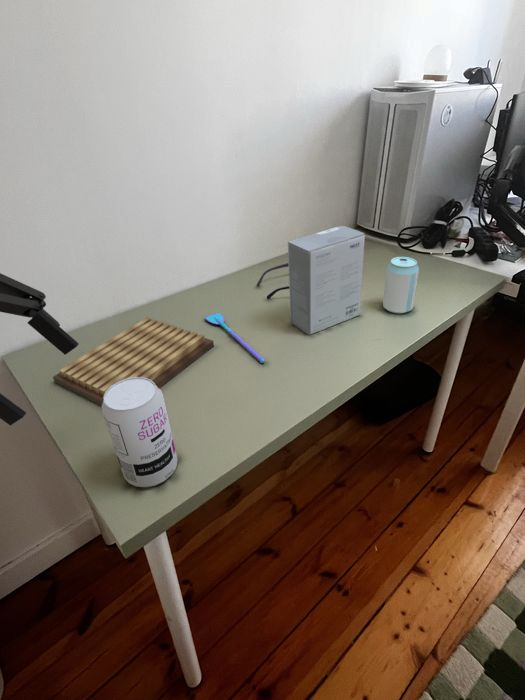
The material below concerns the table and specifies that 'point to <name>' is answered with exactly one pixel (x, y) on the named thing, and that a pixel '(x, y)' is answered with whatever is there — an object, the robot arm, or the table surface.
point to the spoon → (232, 333)
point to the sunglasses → (278, 288)
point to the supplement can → (140, 431)
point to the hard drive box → (325, 278)
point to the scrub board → (134, 358)
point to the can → (400, 285)
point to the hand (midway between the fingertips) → (48, 381)
